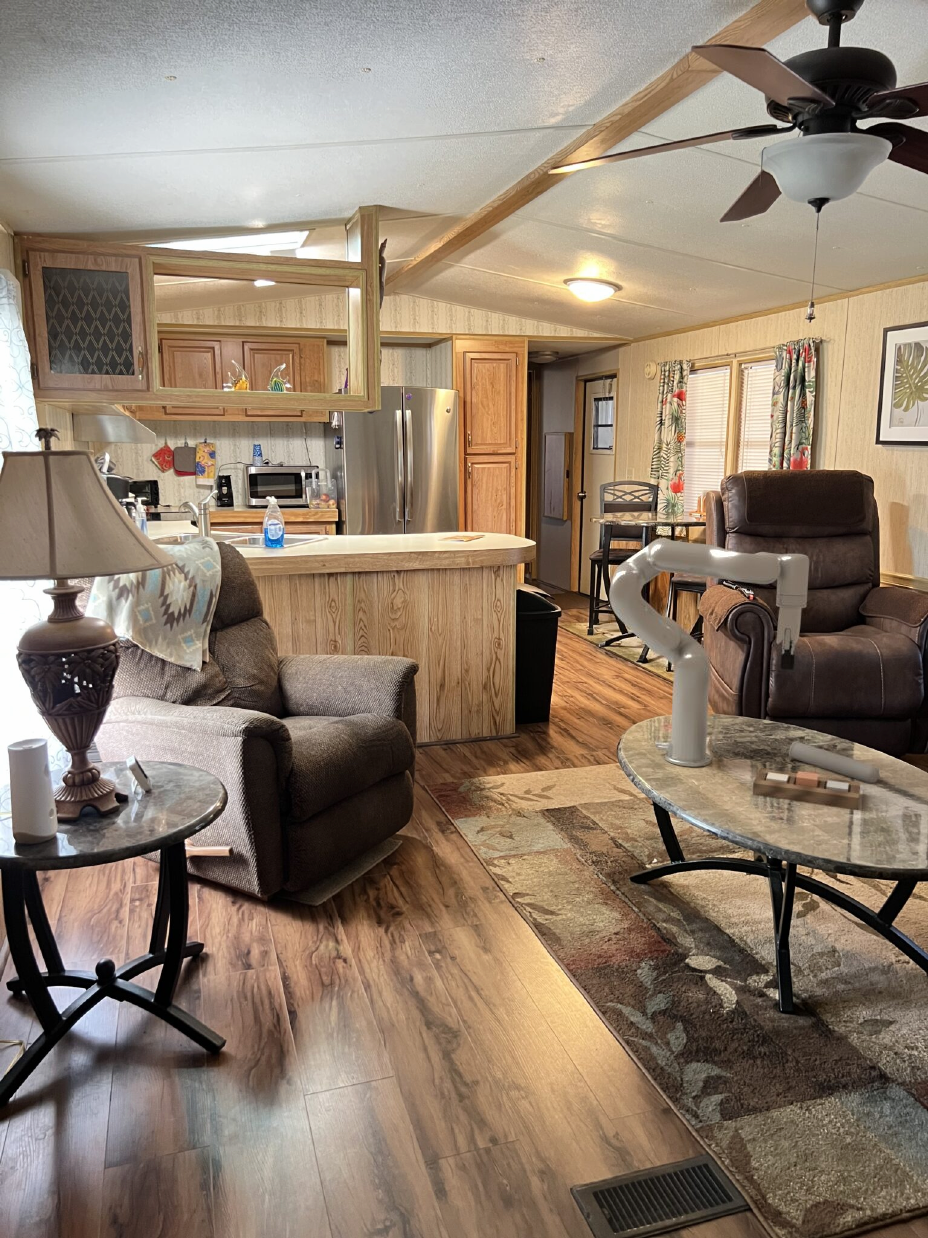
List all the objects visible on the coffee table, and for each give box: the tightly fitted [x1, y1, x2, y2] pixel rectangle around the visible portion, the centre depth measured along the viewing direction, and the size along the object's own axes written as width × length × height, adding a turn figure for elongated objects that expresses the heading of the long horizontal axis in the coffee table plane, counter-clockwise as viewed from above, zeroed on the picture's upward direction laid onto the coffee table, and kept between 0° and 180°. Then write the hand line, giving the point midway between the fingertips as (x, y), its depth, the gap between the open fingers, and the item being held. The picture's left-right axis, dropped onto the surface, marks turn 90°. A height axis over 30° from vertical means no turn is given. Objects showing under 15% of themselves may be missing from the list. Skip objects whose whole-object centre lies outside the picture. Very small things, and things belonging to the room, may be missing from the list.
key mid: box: [796, 770, 820, 788], centre depth 221 cm, size 5×5×3 cm
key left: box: [766, 772, 789, 784], centre depth 224 cm, size 5×5×3 cm
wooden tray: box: [752, 768, 862, 811], centre depth 221 cm, size 24×12×3 cm, turn 65°
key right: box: [826, 780, 849, 792], centre depth 218 cm, size 5×5×3 cm
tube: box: [788, 740, 881, 784], centre depth 239 cm, size 5×5×25 cm
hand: (787, 668), depth 238 cm, fingers closed
